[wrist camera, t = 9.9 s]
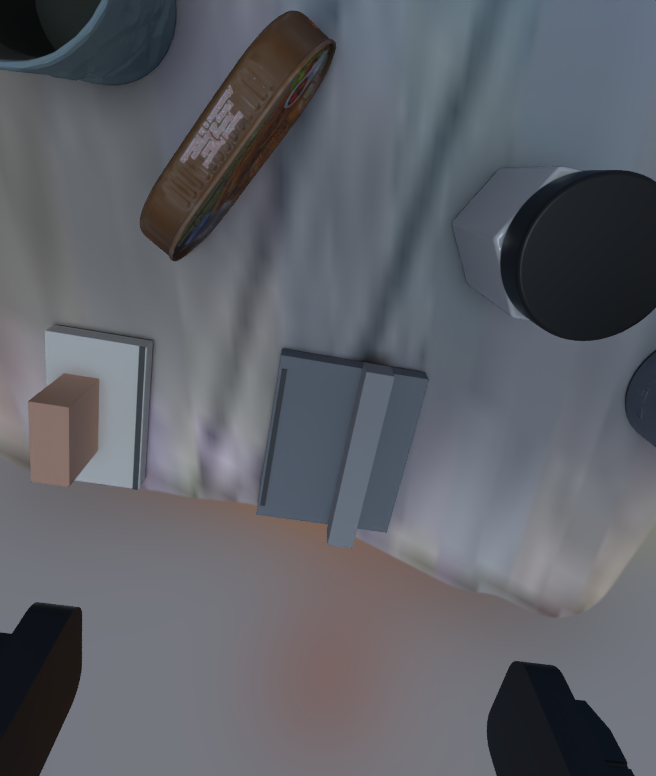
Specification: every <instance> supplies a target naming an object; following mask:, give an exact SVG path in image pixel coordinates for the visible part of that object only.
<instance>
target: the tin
mask: <svg viewBox="0 0 656 776" xmlns="http://www.w3.org/2000/svg"><path fill="white" fill-rule="evenodd" d="M335 50H336V43H335V41H334V40H332V39H329V38H328V37H327V36H326V35H325V34H324V33H323V32H322V31H321V30H320V29H319V28H318V27H317V26H316V25H315V24H314V23H313V22H312V21H311V20H310V19H309V18H308V17H306V16H305V15H304V14H302V13H301V12H298V11H288V12H286V13H284V14H282V15H281V16H279V17H278V18H276V19H275V20H274V21H272V22H271V23H270V24H269V25H268V26H267V27H266V28H265V29H264V30H263V31H262V32H261V33H260V34H259V36H258V37H257V38H256V39H255V40H254V41H253V43H252V44H251V45H250V46H249V47H248V49H247V50H246V51H245V53H244V54H243V55H242V57H241V58H240V59H239V61H238V62H237V64H236V65H235V67H234V68H233V70H232V71H231V72H230V74H229V75H228V77H227V78H226V79H225V81H224V82H223V84H222V85H221V87H220V88H219V89H218V91H217V92H216V94H215V95H214V97H213V98H212V100H211V101H210V103H209V104H208V105H207V107H206V108H205V110H204V111H203V113H202V114H201V116H200V117H199V119H198V120H197V122H196V123H195V125H194V126H193V128H192V129H191V130H190V132H189V133H188V135H187V136H186V138H185V139H184V141H183V142H182V144H181V145H180V147H179V148H178V150H177V151H176V153H175V154H174V156H173V157H172V159H171V160H170V162H169V163H168V165H167V166H166V168H165V169H164V171H163V172H162V174H161V175H160V177H159V178H158V180H157V182H156V183H155V185H154V187H153V188H152V190H151V192H150V194H149V196H148V198H147V200H146V202H145V204H144V207H143V210H142V213H141V218H140V228H141V231H142V232H143V234H144V235H145V236H146V237H147V238H148V239H150V240H151V241H152V242H153V243H154V244H155V245H157V246H158V247H159V248H160V249H162V250H163V251H164V252H165V253H166V254H168V255H169V257H170V259H171V260H172V261H178V260H179V259H182V258H183V257H184V256H186V255H187V254H188V253H189V252H191V251H192V250H193V249H194V248H195V247H196V246H197V245H198V244H199V243H201V242H202V241H203V240H204V239H205V238H206V237H207V236H208V235H209V234H210V232H211V231H212V230H213V229H214V228H215V227H216V225H217V224H218V223H219V222H220V221H221V219H222V218H223V217H224V215H225V214H226V213H227V212H228V211H229V209H230V208H231V207H232V205H233V204H234V203H235V201H236V200H237V199H238V197H239V196H240V195H241V193H242V192H243V191H244V189H245V188H246V187H247V185H248V184H249V183H250V181H251V180H252V179H253V177H254V176H255V174H256V173H257V172H258V171H259V169H260V168H261V166H262V165H263V164H264V162H265V161H266V160H267V159H268V157H269V156H270V154H271V153H272V152H273V151H274V149H275V148H276V147H277V145H278V144H279V143H280V141H281V140H282V139H283V137H284V136H285V135H286V133H287V132H288V130H289V129H290V128H291V126H292V125H293V124H294V122H295V121H296V120H297V118H298V117H299V116H300V114H301V113H302V111H303V110H304V108H305V107H306V105H307V104H308V102H309V101H310V99H311V98H312V96H313V95H314V93H315V92H316V90H317V88H318V87H319V85H320V83H321V81H322V80H323V78H324V76H325V74H326V72H327V70H328V68H329V66H330V64H331V61H332V59H333V56H334V53H335Z"/></svg>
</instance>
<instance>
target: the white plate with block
mask: <svg viewBox="0 0 656 776" xmlns="http://www.w3.org/2000/svg"><path fill="white" fill-rule="evenodd" d="M152 350H153V341H150V340H144V339H138V338H132V337H126V336H120V335H114V334H108V333H102V332H96V331H90V330H84V329H78V328H71V327H65V326H59V325H54V326H52V327H50V328H49V329H47V330H45V355H46V388H44V389H43V390H42V391H41V392H39V393H38V394H37V395H36V396H34V397H33V398H32V399H31V400H29V401H28V410H29V436H30V462H31V482H38V483H45V484H52V485H59V486H67V487H70V485H71V484H72V483H73V482H74V480H77V481H84V482H91V483H98V484H105V485H112V486H119V487H127V488H132V489H135V490H138V489H140V487H141V485H142V483H143V482H144V480H145V470H146V453H147V436H148V419H149V402H150V385H151V367H152Z"/></svg>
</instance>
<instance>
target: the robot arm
mask: <svg viewBox="0 0 656 776" xmlns="http://www.w3.org/2000/svg"><path fill="white" fill-rule="evenodd" d="M626 410H627V416H628V419H629V421H630V423H631V425H632V426H633V428H634V429H635V430H636V431H637V433H639V434H640V435H641V436H642V437H644V438H645V439H646V440H647V441H649V442H650V443H651V444H652V445H653V446H655V447H656V352H655V353H654V354H653V355H652V356H650V357H649V358H648V359H647V360H646V361H645V362H644V363H643V364H642V366H641V367H640V368H639V369H638V371H637V372H636V374H635V376H634V377H633V379H632V381H631V383H630V386H629V389H628V392H627V397H626ZM81 669H82V611H81V608H79V607H73V606H64V605H56V604H47V603H39V602H36V603H34V604H33V605H32V606H31V607H30V608H29V609H28V610H27V612H26V613H25V615H24V616H23V618H22V619H21V621H20V623H19V624H18V625H17V627H16V628H15V630H14V631H13V633H12V634H7V633H0V776H39V775H40V773H41V770H42V769H43V766H44V764H45V762H46V760H47V758H48V756H49V753H50V751H51V749H52V747H53V745H54V743H55V740H56V738H57V736H58V734H59V732H60V730H61V727H62V725H63V723H64V721H65V718H66V717H67V714H68V712H69V710H70V708H71V705H72V703H73V700H74V698H75V695H76V692H77V688H78V685H79V681H80V676H81ZM487 740H488V746H489V751H490V755H491V758H492V761H493V765H494V768H495V771H496V775H497V776H634V774H633V772H632V770H631V769H628V767H627V761H626V759H625V757H624V755H623V754H622V751H621V749H620V748H619V746H618V744H617V742H616V740H615V738H614V736H613V734H612V732H611V730H610V729H609V728H608V727H607V726H606V725H605V723H604V722H603V721H602V720H601V719H600V717H599V716H598V715H597V714H596V713H595V712H594V711H593V709H592V708H591V707H590V706H589V705H588V704H587V703H586V701H582V700H575V698H574V696H573V694H572V693H571V691H570V688H569V686H568V684H567V682H566V680H565V678H564V676H563V674H562V673H561V672H560V670H559V669H558V668H557V667H555V666H553V665H545V664H536V663H529V662H520V661H515V662H513V663H512V664H511V665H510V667H509V669H508V671H507V673H506V676H505V678H504V680H503V683H502V685H501V687H500V689H499V692H498V694H497V696H496V699H495V701H494V703H493V705H492V708H491V710H490V713H489V716H488V721H487Z"/></svg>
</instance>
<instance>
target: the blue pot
mask: <svg viewBox="0 0 656 776" xmlns="http://www.w3.org/2000/svg"><path fill="white" fill-rule="evenodd" d="M175 18H176V6H175V0H0V70H8V71H16V72H25V73H35V74H45V75H50V76H52V77H57V78H63V79H70V80H80V79H81V80H83V81H87V82H91V83H98V84H106V85H120V84H127V83H130V82H133V81H136V80H138V79H140V78H142V77H143V76H145V75H147V74H148V73H149V72H151V71H152V70H153V69H154V68H156V67H157V66H158V65H159V64H160V62H161V60H162V58H163V57H164V55H165V53H166V52H167V50H168V48H169V45H170V42H171V41H172V40H173V34H174V27H175V23H176V22H175Z"/></svg>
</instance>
